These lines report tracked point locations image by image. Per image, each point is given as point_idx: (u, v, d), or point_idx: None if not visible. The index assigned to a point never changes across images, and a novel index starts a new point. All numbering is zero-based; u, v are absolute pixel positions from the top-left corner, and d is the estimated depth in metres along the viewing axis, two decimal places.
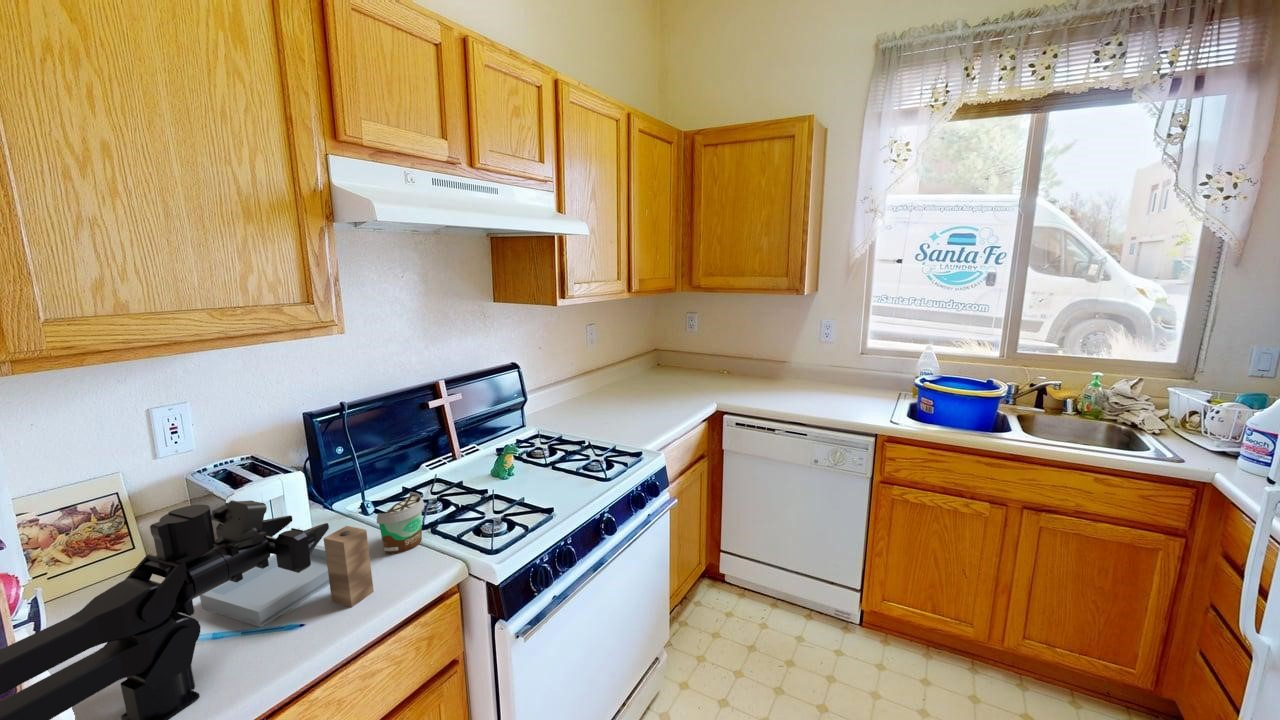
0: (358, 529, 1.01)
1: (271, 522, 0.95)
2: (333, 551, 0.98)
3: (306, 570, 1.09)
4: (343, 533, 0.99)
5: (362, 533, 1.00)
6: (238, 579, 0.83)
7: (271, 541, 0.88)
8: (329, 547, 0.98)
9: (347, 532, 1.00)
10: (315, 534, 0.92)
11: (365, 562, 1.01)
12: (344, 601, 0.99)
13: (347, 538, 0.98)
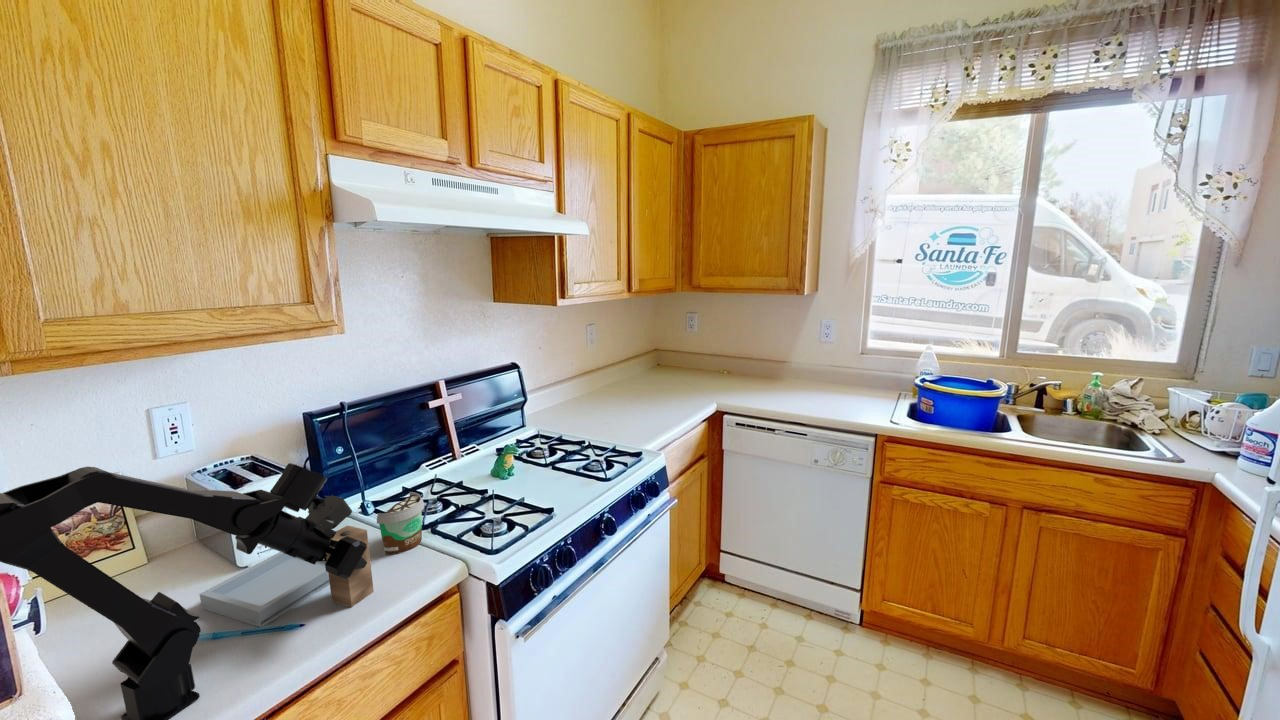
0: (358, 529, 1.01)
1: None
2: None
3: (306, 570, 1.09)
4: (343, 533, 0.99)
5: (362, 533, 1.00)
6: (293, 554, 0.89)
7: (332, 543, 0.95)
8: None
9: (347, 532, 1.00)
10: None
11: None
12: (344, 601, 0.99)
13: None
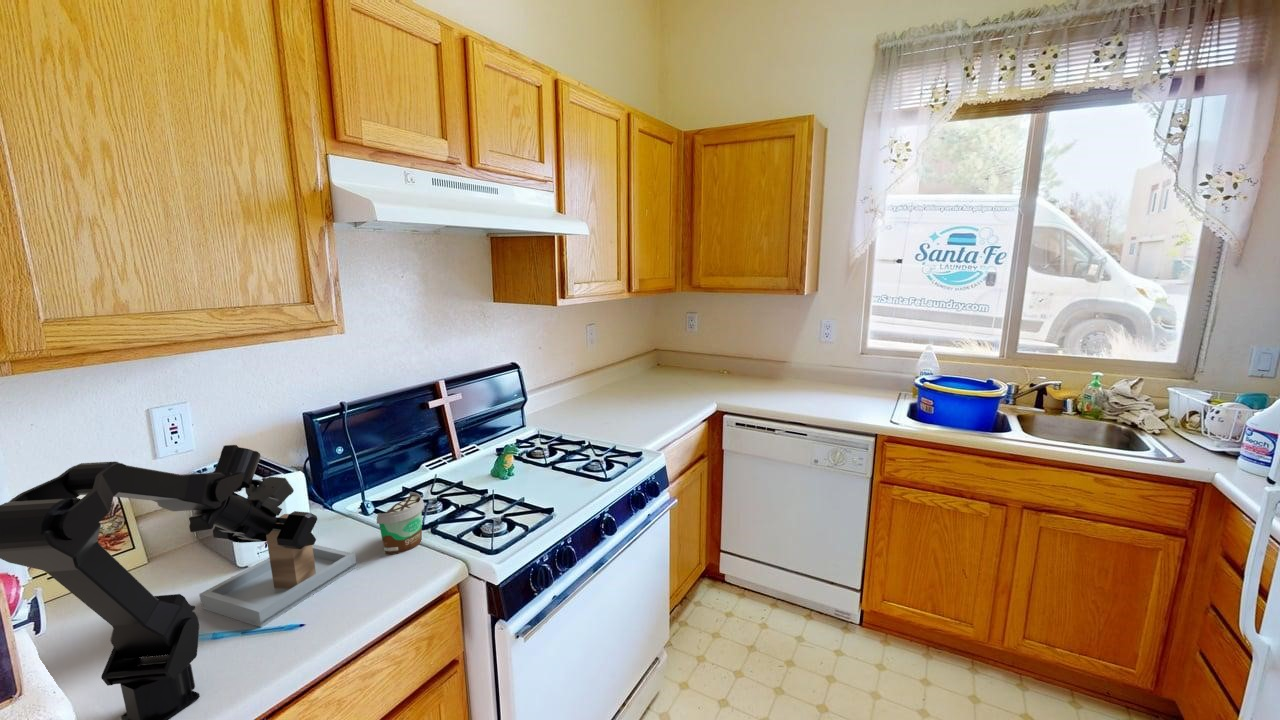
0: None
1: None
2: (276, 537, 1.01)
3: None
4: None
5: None
6: (243, 531, 0.92)
7: (278, 520, 0.98)
8: (272, 534, 1.01)
9: None
10: None
11: (308, 546, 1.05)
12: (289, 585, 1.03)
13: None
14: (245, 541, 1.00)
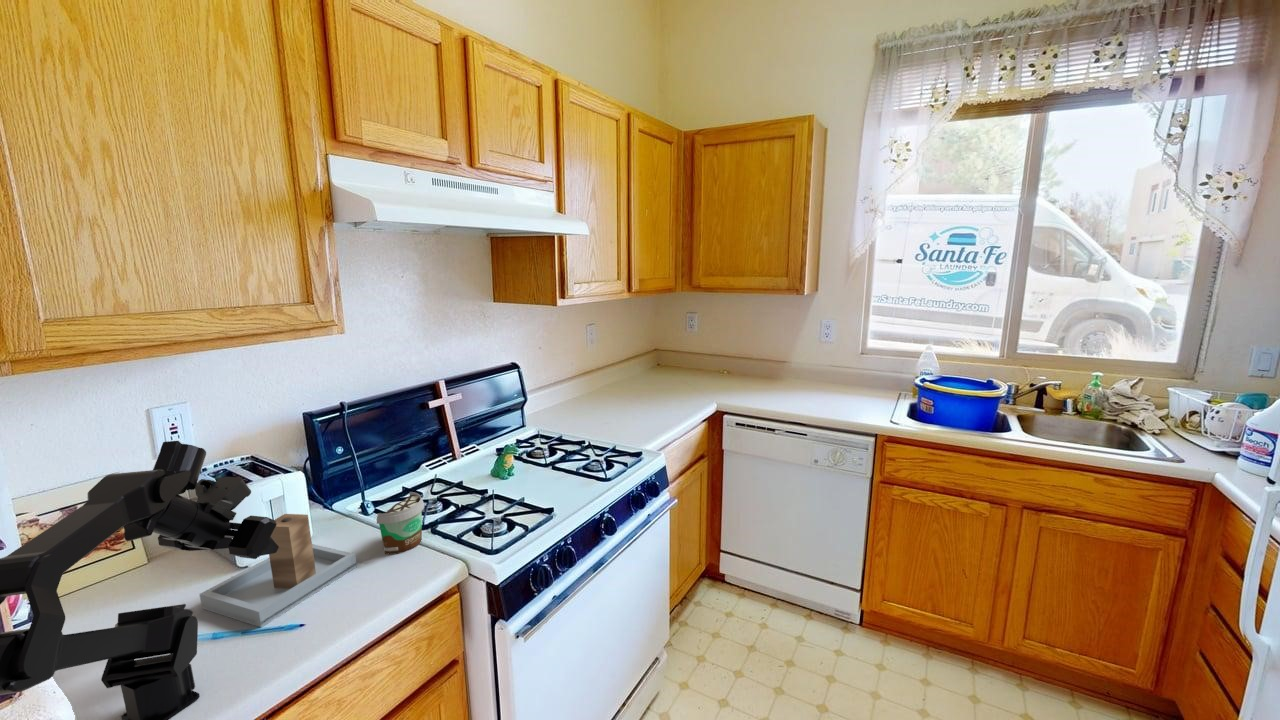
0: (299, 515, 1.05)
1: None
2: (276, 537, 1.01)
3: None
4: (284, 519, 1.03)
5: (304, 517, 1.04)
6: (189, 538, 0.81)
7: (232, 526, 0.87)
8: (272, 534, 1.01)
9: (288, 518, 1.03)
10: (268, 543, 0.90)
11: (308, 546, 1.05)
12: (289, 585, 1.03)
13: (290, 523, 1.02)
14: (194, 549, 0.89)
